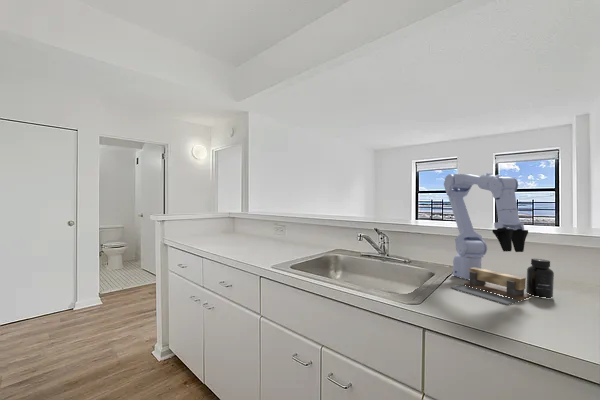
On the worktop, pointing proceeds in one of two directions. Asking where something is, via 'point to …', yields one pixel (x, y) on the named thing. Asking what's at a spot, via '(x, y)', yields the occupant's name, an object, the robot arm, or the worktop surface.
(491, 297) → the mat
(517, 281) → the rail
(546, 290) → the supplement bottle
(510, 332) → the worktop surface
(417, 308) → the worktop surface
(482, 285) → the stand
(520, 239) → the robot arm
